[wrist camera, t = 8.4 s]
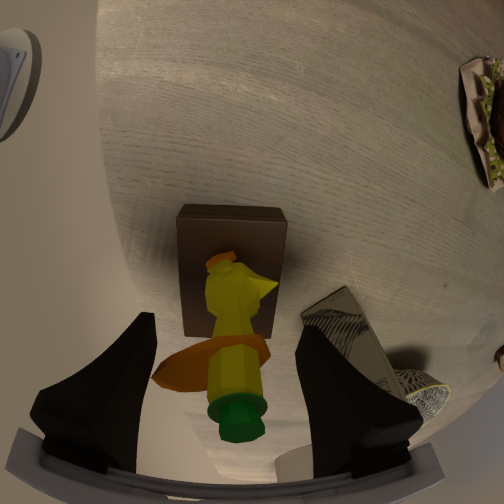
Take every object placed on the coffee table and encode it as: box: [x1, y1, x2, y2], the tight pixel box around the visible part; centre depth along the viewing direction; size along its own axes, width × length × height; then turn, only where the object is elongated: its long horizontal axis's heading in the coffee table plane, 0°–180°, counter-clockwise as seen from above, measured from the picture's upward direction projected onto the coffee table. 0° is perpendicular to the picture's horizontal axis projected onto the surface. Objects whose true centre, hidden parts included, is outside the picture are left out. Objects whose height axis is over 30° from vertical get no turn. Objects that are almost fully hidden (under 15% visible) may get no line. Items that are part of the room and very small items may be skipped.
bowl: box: [393, 369, 451, 427], centre depth 28 cm, size 16×16×8 cm
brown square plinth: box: [176, 204, 288, 339], centre depth 20 cm, size 10×7×3 cm
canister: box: [275, 445, 313, 497], centre depth 34 cm, size 16×16×20 cm
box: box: [301, 287, 408, 403], centre depth 19 cm, size 5×4×13 cm
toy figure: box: [151, 251, 279, 443], centre depth 13 cm, size 7×4×12 cm, turn 114°
